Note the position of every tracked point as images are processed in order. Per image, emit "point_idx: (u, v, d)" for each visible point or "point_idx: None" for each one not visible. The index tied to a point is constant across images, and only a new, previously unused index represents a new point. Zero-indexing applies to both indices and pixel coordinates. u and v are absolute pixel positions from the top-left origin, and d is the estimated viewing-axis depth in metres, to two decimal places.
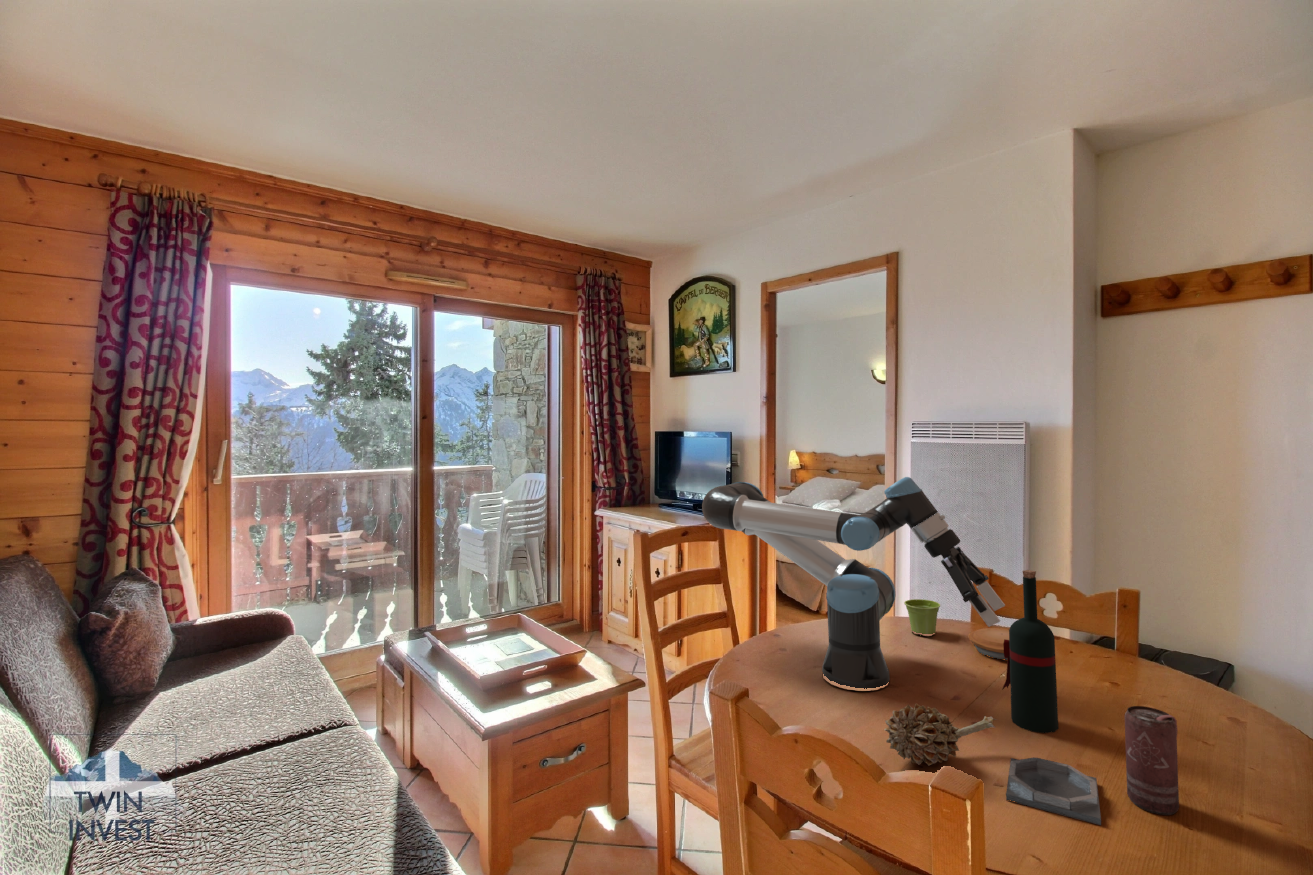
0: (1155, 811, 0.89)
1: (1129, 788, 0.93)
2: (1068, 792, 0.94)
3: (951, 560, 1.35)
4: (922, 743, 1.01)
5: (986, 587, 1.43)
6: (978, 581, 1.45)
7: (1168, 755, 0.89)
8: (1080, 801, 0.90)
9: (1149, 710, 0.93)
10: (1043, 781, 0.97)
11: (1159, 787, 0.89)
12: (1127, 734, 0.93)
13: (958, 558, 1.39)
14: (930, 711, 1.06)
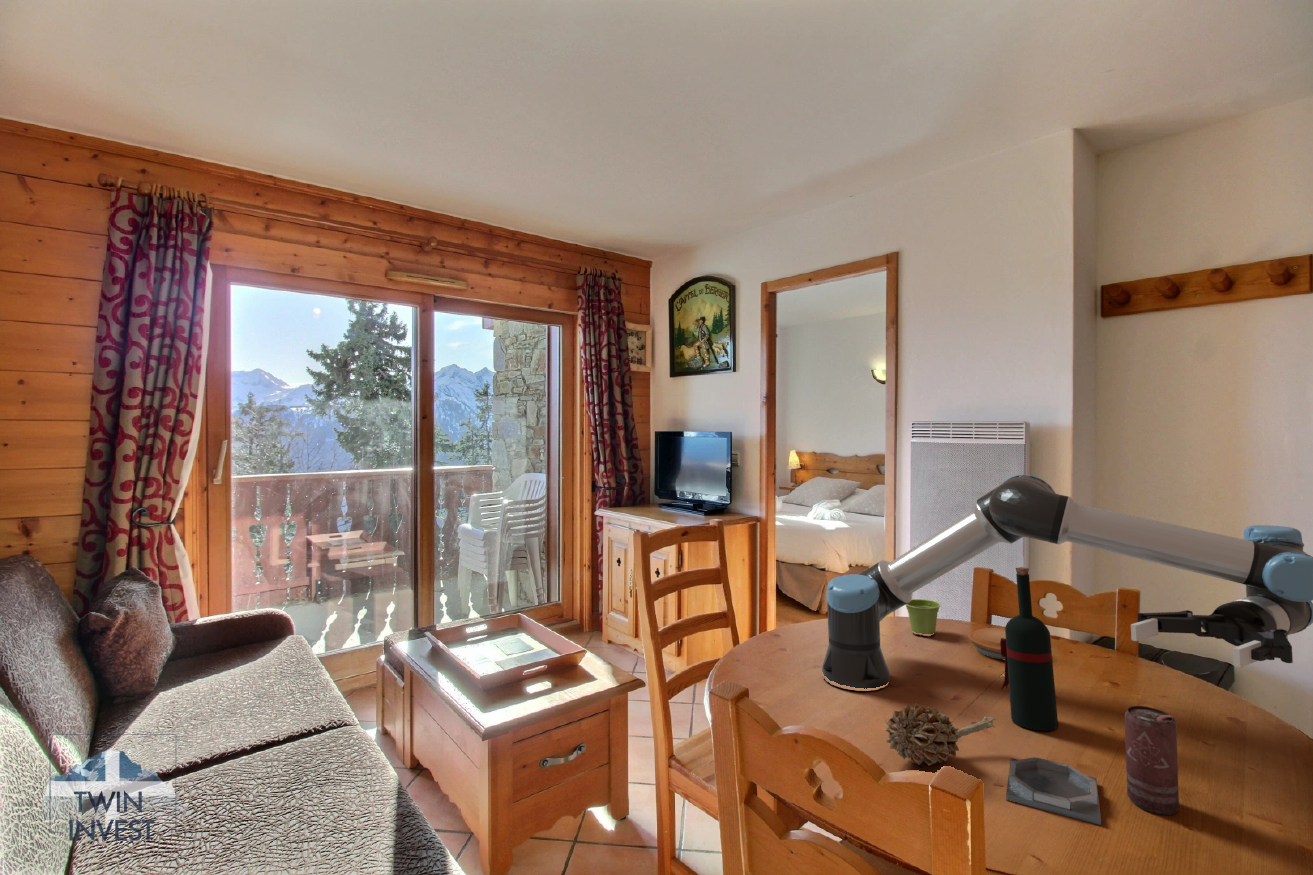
0: (1155, 811, 0.89)
1: (1129, 788, 0.93)
2: (1068, 792, 0.94)
3: None
4: (922, 743, 1.01)
5: (1154, 631, 1.04)
6: None
7: (1168, 755, 0.89)
8: (1080, 801, 0.90)
9: (1149, 710, 0.93)
10: (1043, 781, 0.97)
11: (1159, 787, 0.89)
12: (1127, 734, 0.93)
13: None
14: (930, 711, 1.06)
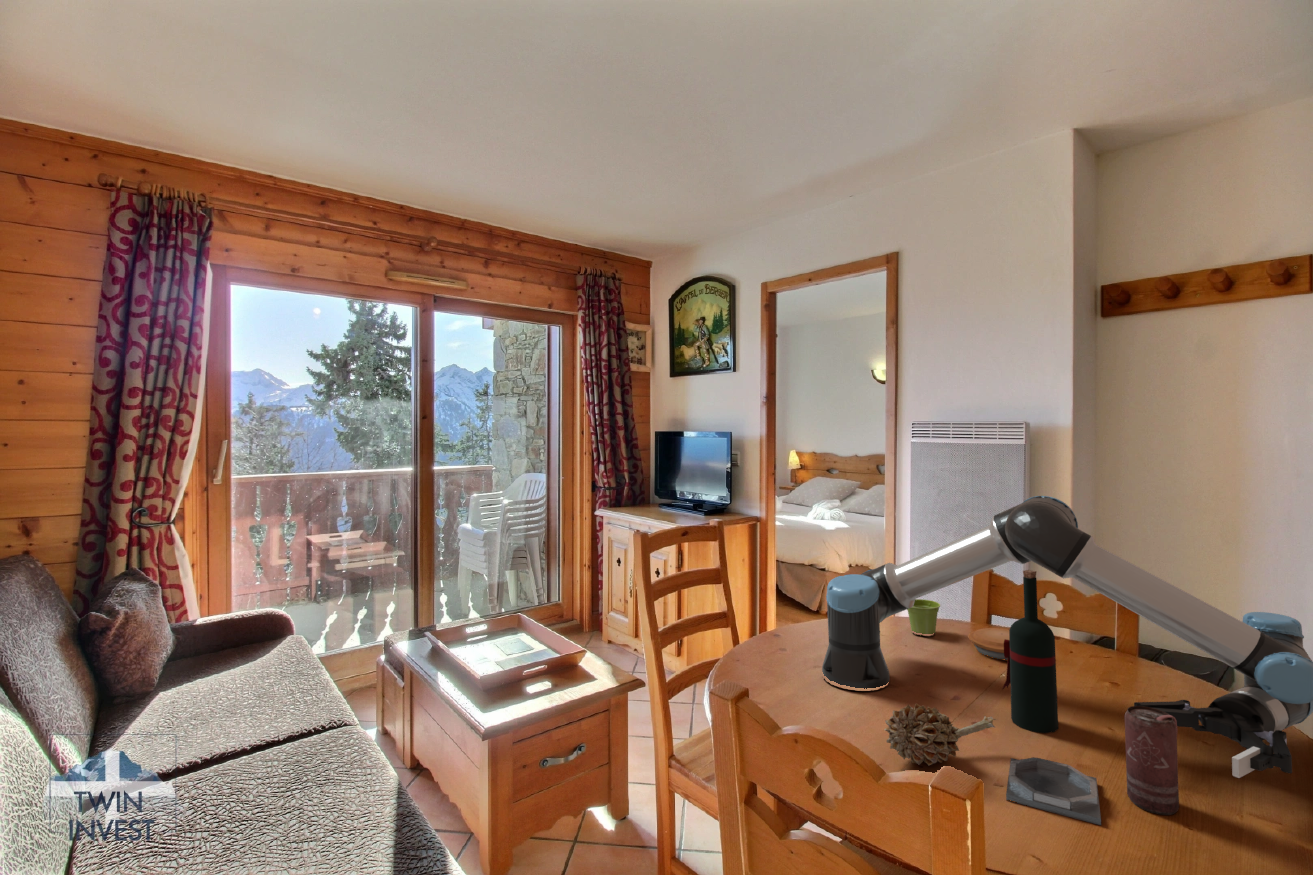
0: (1155, 811, 0.89)
1: (1129, 788, 0.93)
2: (1068, 792, 0.94)
3: None
4: (922, 743, 1.01)
5: None
6: None
7: (1168, 755, 0.89)
8: (1080, 801, 0.90)
9: (1149, 710, 0.93)
10: (1043, 781, 0.97)
11: (1159, 787, 0.89)
12: (1127, 734, 0.93)
13: None
14: (930, 711, 1.06)
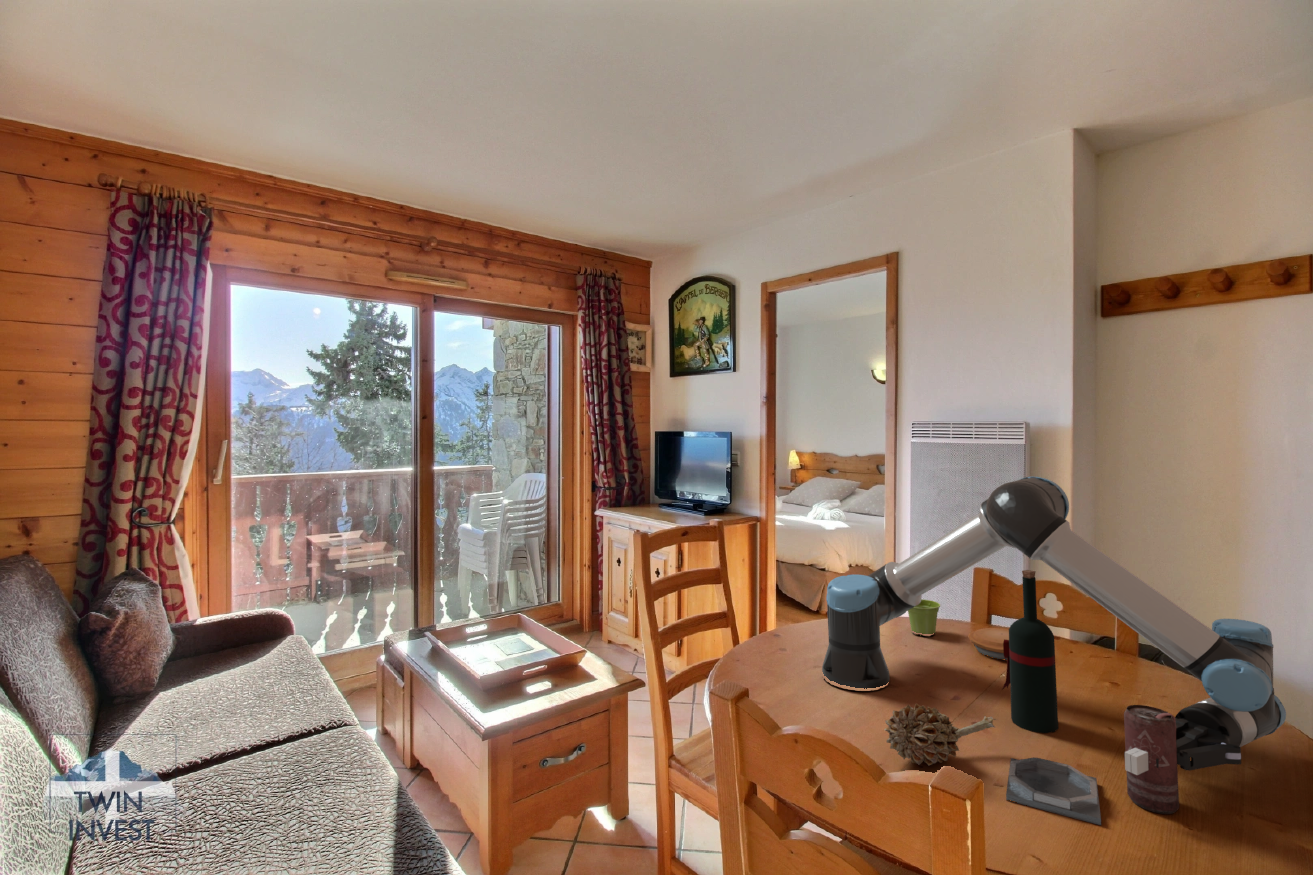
0: (1156, 810, 0.89)
1: (1130, 788, 0.93)
2: (1068, 792, 0.94)
3: (1235, 762, 0.90)
4: (922, 743, 1.01)
5: None
6: None
7: (1168, 753, 0.89)
8: (1080, 801, 0.90)
9: (1148, 709, 0.94)
10: (1043, 781, 0.97)
11: (1160, 786, 0.89)
12: (1127, 733, 0.93)
13: None
14: (930, 711, 1.06)
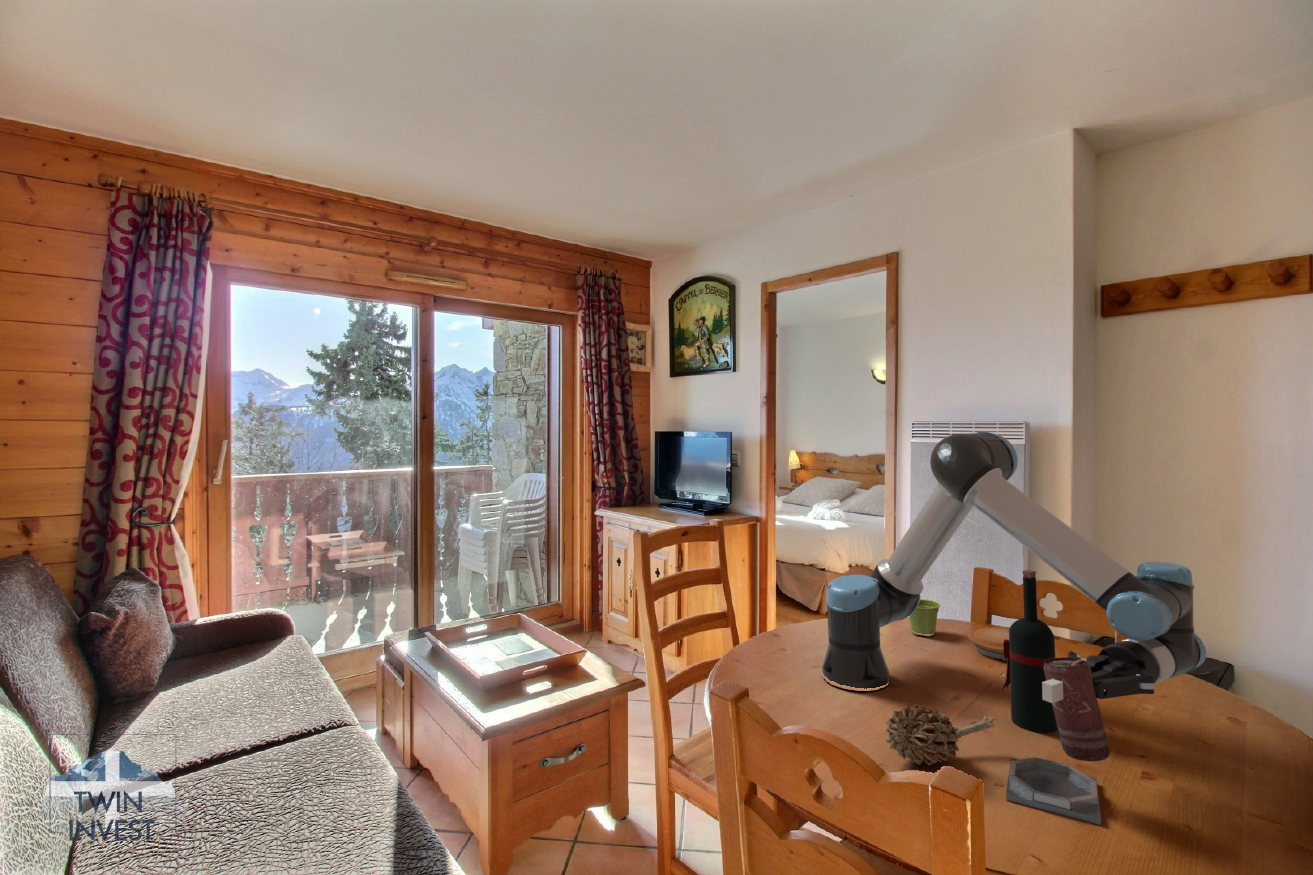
0: (1090, 758, 0.90)
1: (1063, 742, 0.94)
2: (1068, 792, 0.94)
3: (1148, 691, 0.93)
4: (922, 743, 1.01)
5: None
6: None
7: (1088, 697, 0.91)
8: (1080, 801, 0.90)
9: (1064, 660, 0.97)
10: (1043, 781, 0.97)
11: (1088, 732, 0.91)
12: None
13: None
14: (930, 711, 1.06)
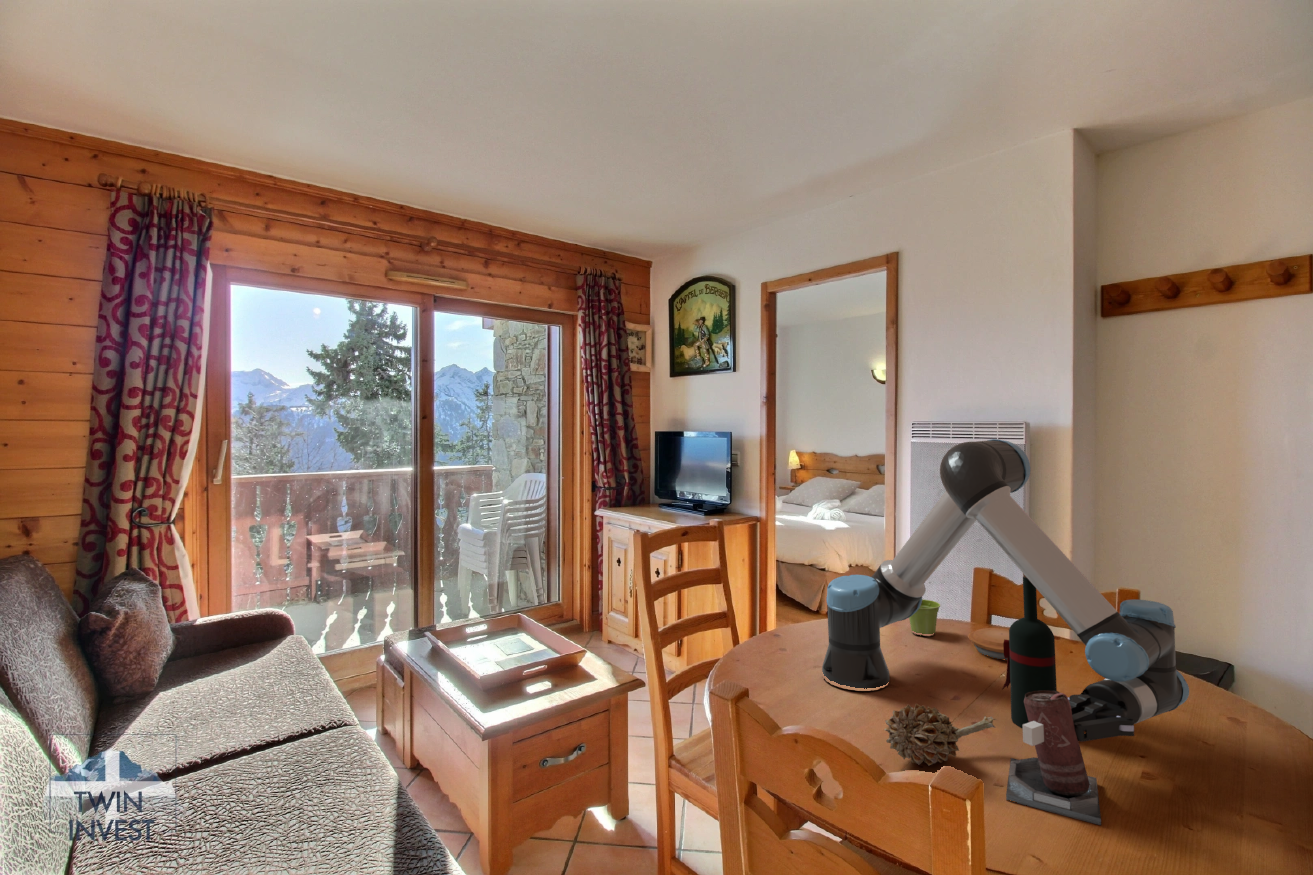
0: (1069, 792, 0.92)
1: (1043, 775, 0.95)
2: None
3: (1128, 733, 0.94)
4: (922, 743, 1.01)
5: None
6: None
7: (1066, 731, 0.93)
8: (1080, 801, 0.90)
9: (1044, 693, 0.98)
10: (1043, 781, 0.97)
11: (1067, 766, 0.92)
12: (1029, 719, 0.96)
13: None
14: (930, 711, 1.06)
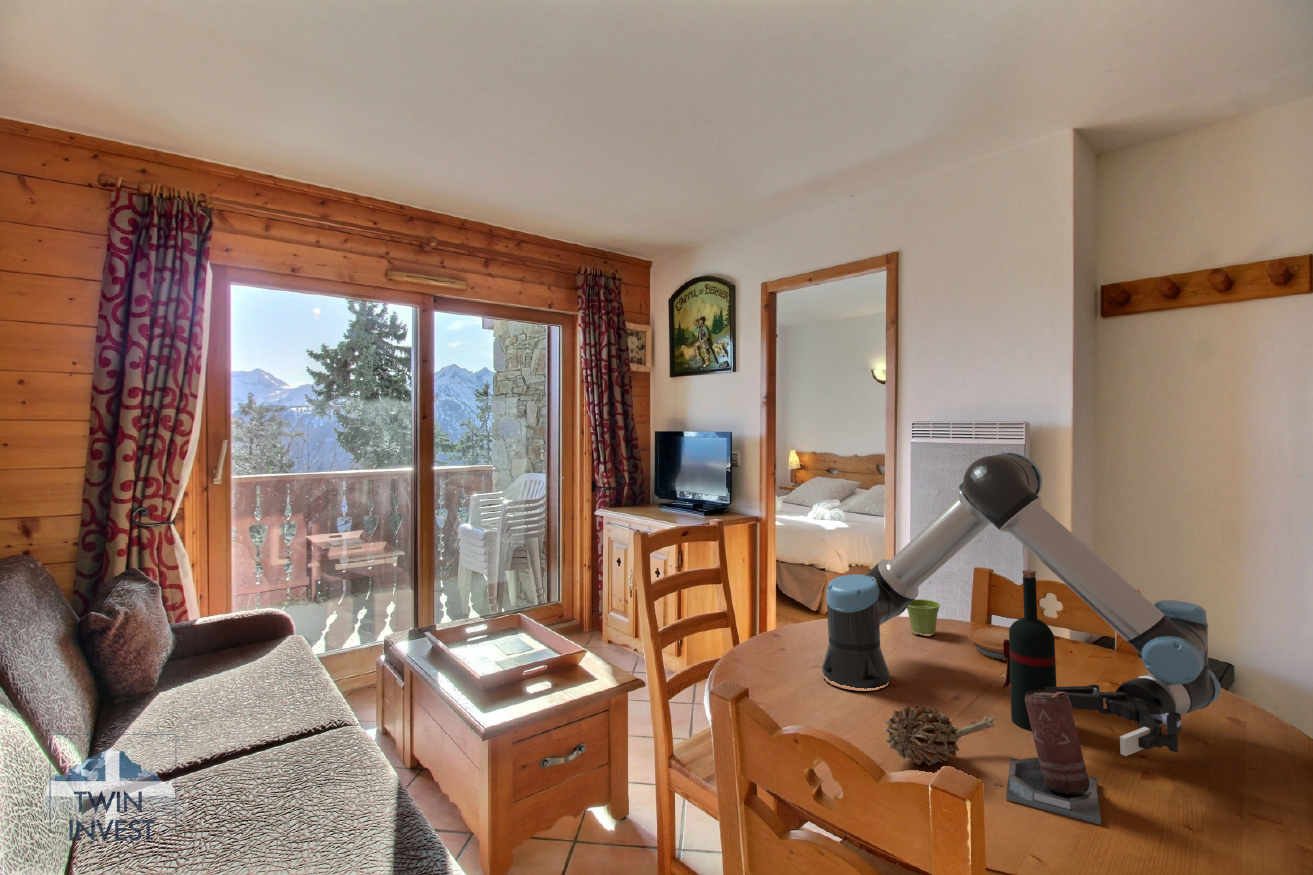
0: (1069, 791, 0.92)
1: (1043, 774, 0.95)
2: None
3: (1179, 728, 0.98)
4: (922, 743, 1.01)
5: None
6: None
7: (1067, 729, 0.93)
8: (1080, 801, 0.90)
9: (1045, 692, 0.99)
10: (1043, 781, 0.97)
11: (1067, 764, 0.92)
12: (1030, 717, 0.97)
13: None
14: (930, 711, 1.06)
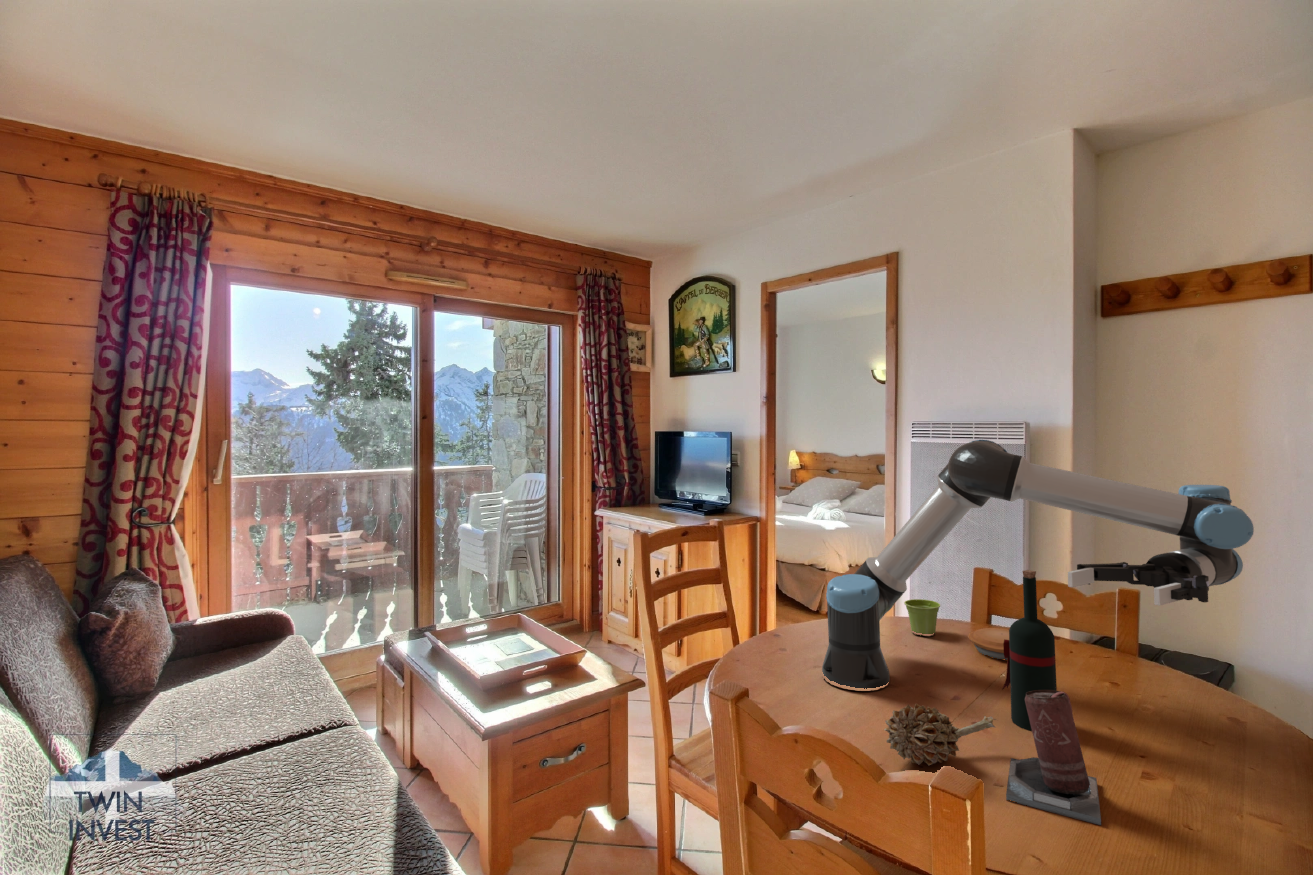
0: (1069, 791, 0.92)
1: (1043, 774, 0.95)
2: None
3: (1207, 589, 1.04)
4: (922, 743, 1.01)
5: (1090, 579, 1.12)
6: None
7: (1067, 729, 0.93)
8: (1080, 801, 0.90)
9: (1045, 692, 0.99)
10: (1043, 781, 0.97)
11: (1067, 764, 0.92)
12: (1030, 717, 0.97)
13: None
14: (930, 711, 1.06)
